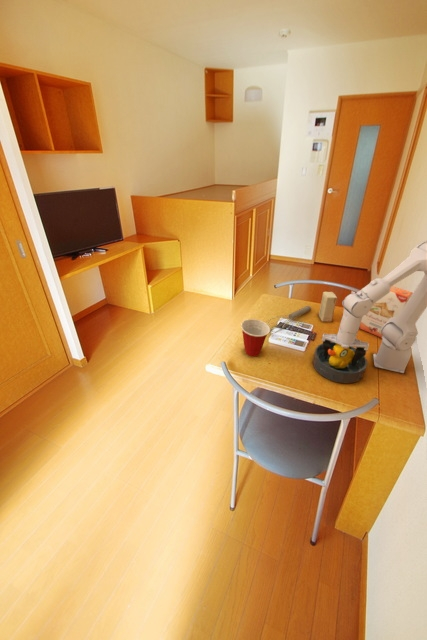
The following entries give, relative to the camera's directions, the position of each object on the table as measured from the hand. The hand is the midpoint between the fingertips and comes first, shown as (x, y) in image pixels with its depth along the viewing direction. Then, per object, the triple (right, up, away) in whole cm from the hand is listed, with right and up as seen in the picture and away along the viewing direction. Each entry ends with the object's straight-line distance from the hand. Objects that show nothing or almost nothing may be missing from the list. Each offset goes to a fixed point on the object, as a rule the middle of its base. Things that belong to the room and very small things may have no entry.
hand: (338, 360), depth 103 cm
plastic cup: (-29, +2, +9) cm, 31 cm away
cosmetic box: (+7, +15, +31) cm, 35 cm away
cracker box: (+25, +9, +21) cm, 34 cm away
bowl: (0, -3, +2) cm, 3 cm away
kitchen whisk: (-10, +14, +28) cm, 33 cm away
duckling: (0, -2, +2) cm, 3 cm away
